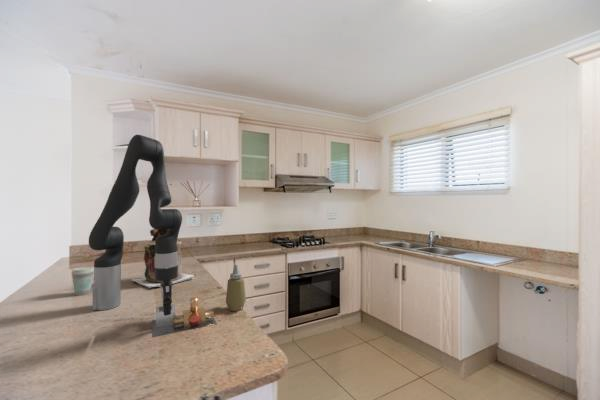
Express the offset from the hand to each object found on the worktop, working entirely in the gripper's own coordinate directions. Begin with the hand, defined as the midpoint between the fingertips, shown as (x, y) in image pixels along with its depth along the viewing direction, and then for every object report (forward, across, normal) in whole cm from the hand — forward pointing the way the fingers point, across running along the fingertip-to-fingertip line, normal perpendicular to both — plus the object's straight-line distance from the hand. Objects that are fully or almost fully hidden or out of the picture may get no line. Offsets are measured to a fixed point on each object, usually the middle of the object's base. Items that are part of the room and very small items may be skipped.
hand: (166, 310), depth 97 cm
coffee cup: (+4, -56, -34) cm, 66 cm away
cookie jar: (+5, -62, +1) cm, 62 cm away
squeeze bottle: (+6, -3, +26) cm, 26 cm away
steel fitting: (+4, 0, 0) cm, 4 cm away
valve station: (+5, +3, +6) cm, 8 cm away
